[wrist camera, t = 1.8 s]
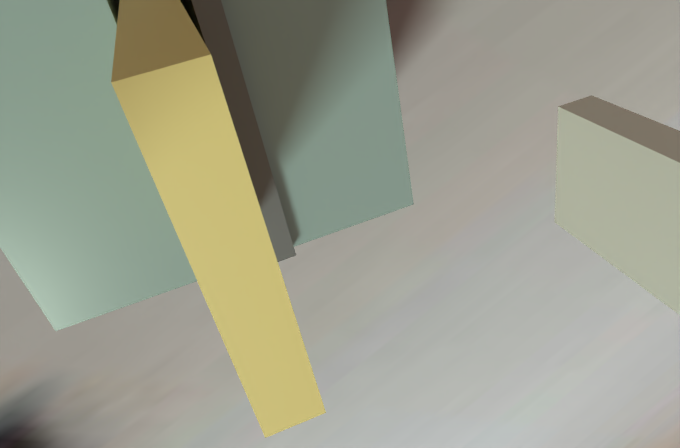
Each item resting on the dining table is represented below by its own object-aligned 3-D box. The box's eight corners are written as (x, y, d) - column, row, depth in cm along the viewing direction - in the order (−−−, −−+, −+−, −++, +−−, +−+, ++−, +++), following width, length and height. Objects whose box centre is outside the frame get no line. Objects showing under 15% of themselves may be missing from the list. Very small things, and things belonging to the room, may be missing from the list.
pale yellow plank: (193, 159, 25) (265, 437, 12) (122, -28, 20) (111, 82, 7) (222, 150, 25) (325, 412, 12) (158, -37, 21) (210, 54, 8)
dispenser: (74, 225, 26) (54, 341, 19) (-78, -47, 20) (-194, -23, 12) (347, 136, 29) (420, 210, 21) (294, -132, 22) (373, -151, 15)
